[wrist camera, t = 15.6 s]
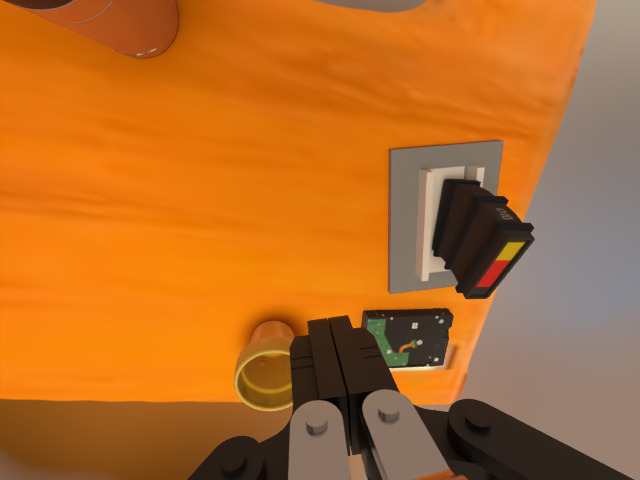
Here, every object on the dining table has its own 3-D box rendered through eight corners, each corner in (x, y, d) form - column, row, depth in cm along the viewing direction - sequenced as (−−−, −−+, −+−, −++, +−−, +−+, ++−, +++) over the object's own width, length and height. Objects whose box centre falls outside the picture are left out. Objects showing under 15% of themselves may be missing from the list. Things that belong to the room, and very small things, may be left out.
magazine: (477, 156, 43) (541, 235, 33) (441, 228, 52) (482, 308, 42) (451, 155, 43) (507, 235, 32) (419, 228, 52) (455, 308, 42)
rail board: (388, 149, 44) (397, 151, 41) (498, 140, 46) (515, 141, 42) (388, 290, 52) (395, 302, 49) (482, 279, 53) (495, 289, 50)
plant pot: (318, 340, 54) (326, 385, 44) (268, 373, 55) (266, 424, 46) (279, 297, 50) (279, 336, 41) (227, 334, 51) (216, 380, 42)
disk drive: (445, 305, 55) (361, 308, 53) (454, 314, 53) (365, 318, 51) (436, 355, 59) (356, 360, 57) (444, 366, 56) (360, 372, 54)
